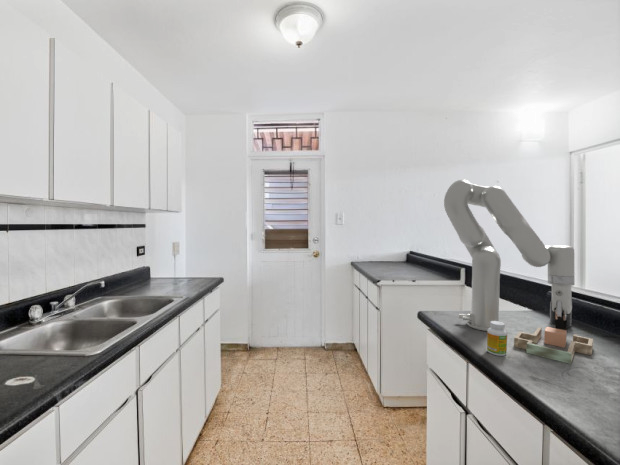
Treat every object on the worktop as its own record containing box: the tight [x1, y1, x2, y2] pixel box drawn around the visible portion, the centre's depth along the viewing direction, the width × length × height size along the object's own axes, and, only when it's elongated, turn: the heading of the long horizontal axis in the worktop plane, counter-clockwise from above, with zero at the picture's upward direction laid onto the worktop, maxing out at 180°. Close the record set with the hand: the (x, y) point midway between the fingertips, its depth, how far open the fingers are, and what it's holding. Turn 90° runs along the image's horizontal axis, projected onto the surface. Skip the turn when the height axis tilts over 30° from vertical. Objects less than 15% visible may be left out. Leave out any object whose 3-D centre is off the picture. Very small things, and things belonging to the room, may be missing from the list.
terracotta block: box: [543, 326, 568, 348], centre depth 107 cm, size 6×6×4 cm
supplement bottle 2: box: [549, 300, 573, 328], centre depth 126 cm, size 7×7×12 cm
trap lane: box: [513, 326, 594, 365], centre depth 103 cm, size 19×21×3 cm
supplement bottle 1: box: [486, 321, 508, 357], centre depth 100 cm, size 5×5×10 cm
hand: (561, 330), depth 112 cm, fingers closed
